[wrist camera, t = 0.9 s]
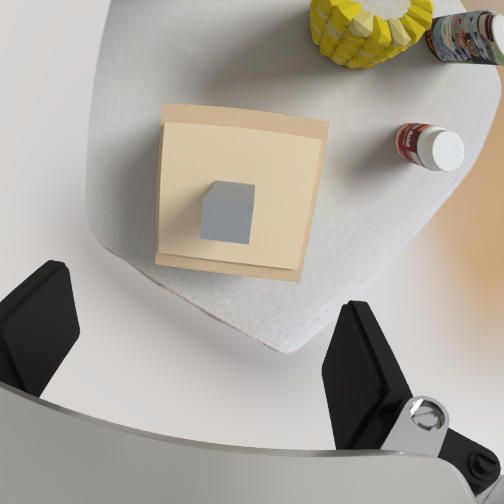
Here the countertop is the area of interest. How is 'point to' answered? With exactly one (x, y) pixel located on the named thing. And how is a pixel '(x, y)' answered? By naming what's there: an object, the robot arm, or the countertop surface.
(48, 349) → the robot arm
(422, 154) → the pill bottle
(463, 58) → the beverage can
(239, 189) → the flap
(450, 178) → the countertop surface
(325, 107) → the countertop surface
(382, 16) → the food
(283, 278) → the carton
